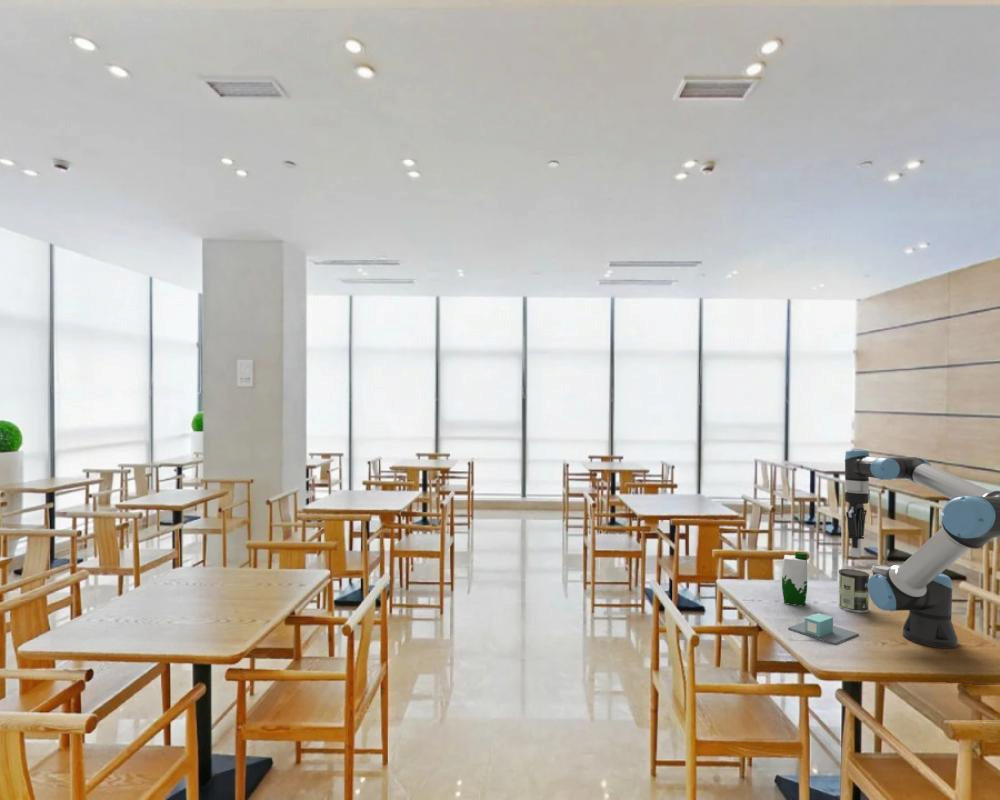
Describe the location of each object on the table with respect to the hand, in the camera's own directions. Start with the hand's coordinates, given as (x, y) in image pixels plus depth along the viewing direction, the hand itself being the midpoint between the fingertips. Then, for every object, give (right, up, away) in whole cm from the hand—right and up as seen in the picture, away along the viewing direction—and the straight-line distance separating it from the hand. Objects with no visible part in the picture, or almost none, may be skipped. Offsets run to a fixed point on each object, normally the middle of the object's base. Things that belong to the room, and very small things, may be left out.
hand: (856, 556), depth 218 cm
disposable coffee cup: (+31, -25, +33) cm, 52 cm away
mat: (-18, -23, -11) cm, 32 cm away
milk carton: (-12, -24, +21) cm, 34 cm away
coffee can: (+8, -25, +16) cm, 30 cm away
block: (-17, -20, -10) cm, 28 cm away
